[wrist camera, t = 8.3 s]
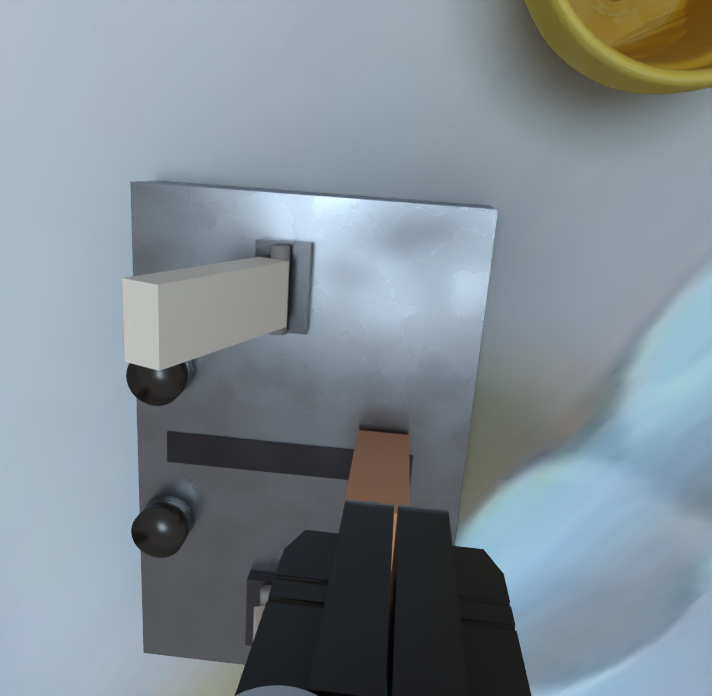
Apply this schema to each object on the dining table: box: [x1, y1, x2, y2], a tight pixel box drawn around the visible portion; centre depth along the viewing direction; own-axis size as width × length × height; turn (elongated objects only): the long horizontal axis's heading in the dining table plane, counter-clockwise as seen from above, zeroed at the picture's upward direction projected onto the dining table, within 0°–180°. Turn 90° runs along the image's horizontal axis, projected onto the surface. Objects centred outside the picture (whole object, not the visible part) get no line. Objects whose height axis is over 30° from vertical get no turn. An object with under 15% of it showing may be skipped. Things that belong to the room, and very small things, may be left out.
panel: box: [126, 181, 498, 665], centre depth 31 cm, size 16×25×4 cm, turn 176°
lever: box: [122, 245, 290, 371], centre depth 24 cm, size 2×4×8 cm, turn 176°
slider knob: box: [343, 430, 410, 570], centre depth 27 cm, size 2×4×7 cm, turn 176°
